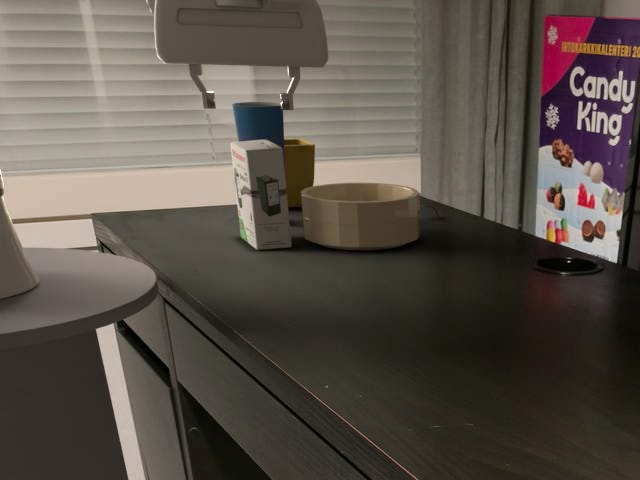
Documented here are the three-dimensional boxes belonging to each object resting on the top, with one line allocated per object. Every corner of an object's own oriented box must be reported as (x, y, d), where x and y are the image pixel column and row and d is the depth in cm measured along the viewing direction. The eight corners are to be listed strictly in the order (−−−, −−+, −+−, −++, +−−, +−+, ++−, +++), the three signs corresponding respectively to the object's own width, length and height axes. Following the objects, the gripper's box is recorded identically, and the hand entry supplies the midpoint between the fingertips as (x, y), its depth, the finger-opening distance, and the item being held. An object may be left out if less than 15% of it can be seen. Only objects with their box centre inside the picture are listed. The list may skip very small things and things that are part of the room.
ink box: (239, 237, 125) (227, 139, 118) (274, 235, 127) (265, 138, 120) (256, 250, 119) (244, 148, 112) (293, 247, 121) (284, 146, 114)
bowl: (308, 254, 118) (304, 203, 114) (301, 230, 130) (297, 183, 127) (428, 250, 121) (427, 201, 117) (410, 227, 133) (408, 181, 130)
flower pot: (252, 202, 147) (245, 139, 142) (306, 199, 150) (300, 137, 145) (265, 212, 141) (258, 146, 135) (320, 209, 144) (315, 144, 138)
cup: (238, 225, 132) (224, 105, 124) (256, 216, 138) (243, 101, 129) (283, 227, 131) (272, 107, 123) (299, 219, 137) (289, 103, 128)
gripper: (139, -34, 102) (160, 110, 109) (325, -26, 106) (332, 112, 113) (143, -32, 107) (163, 105, 114) (321, -24, 111) (328, 108, 118)
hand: (248, 109), depth 114 cm, fingers open, 8 cm apart
